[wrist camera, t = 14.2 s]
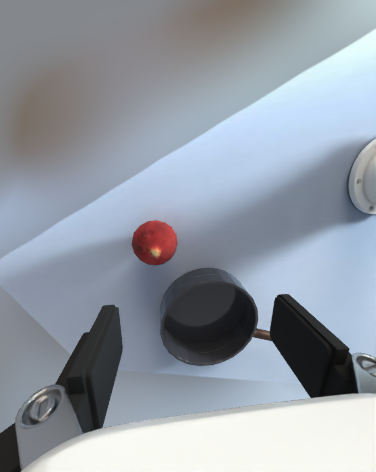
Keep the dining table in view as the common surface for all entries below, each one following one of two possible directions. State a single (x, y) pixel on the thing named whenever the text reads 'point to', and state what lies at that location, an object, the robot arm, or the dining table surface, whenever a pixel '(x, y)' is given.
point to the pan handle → (262, 334)
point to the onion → (154, 242)
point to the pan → (207, 317)
